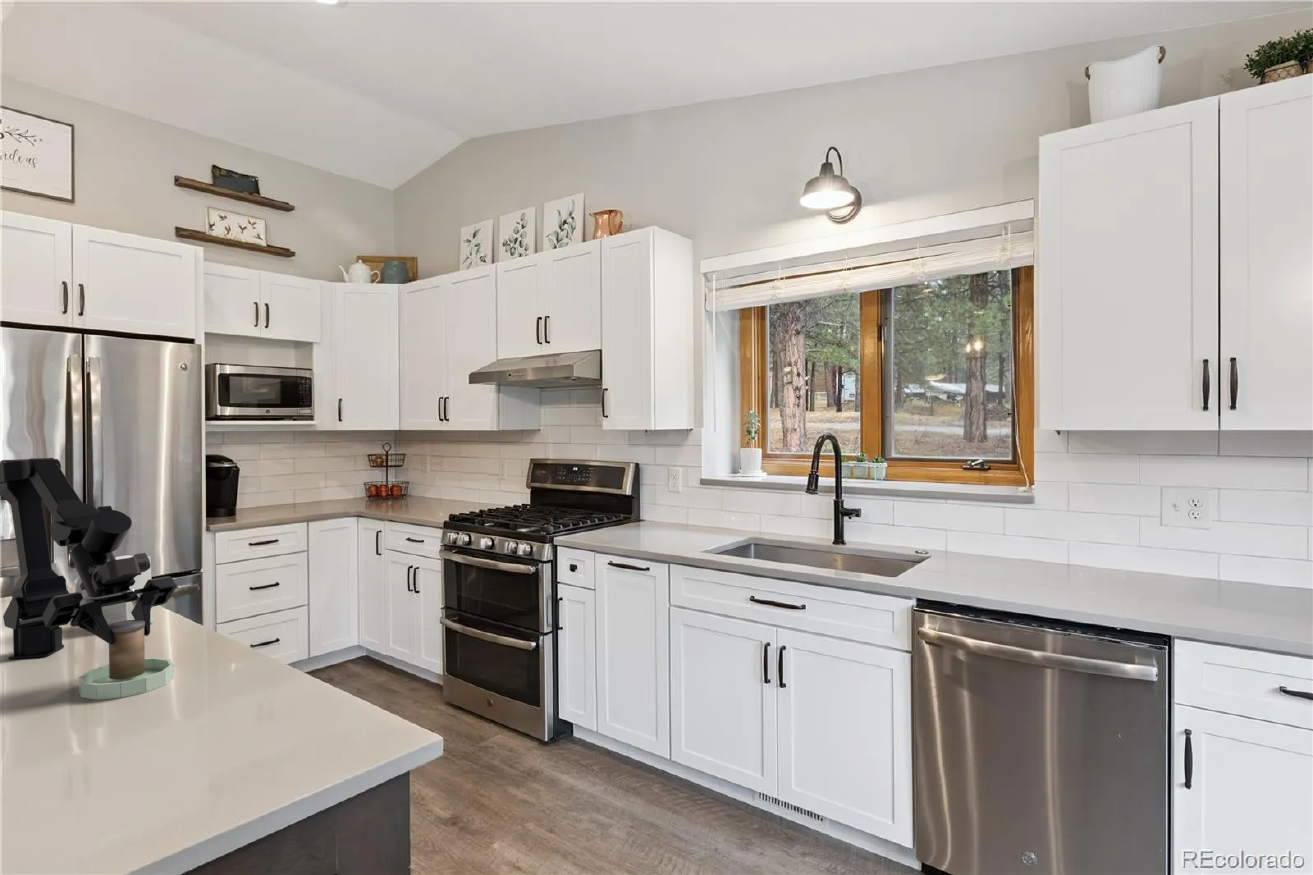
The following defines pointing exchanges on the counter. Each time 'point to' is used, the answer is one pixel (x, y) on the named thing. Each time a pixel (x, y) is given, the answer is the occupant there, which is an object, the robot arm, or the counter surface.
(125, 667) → the walnut spice jar
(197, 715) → the counter surface
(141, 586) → the skincare box
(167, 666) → the sage green dish
